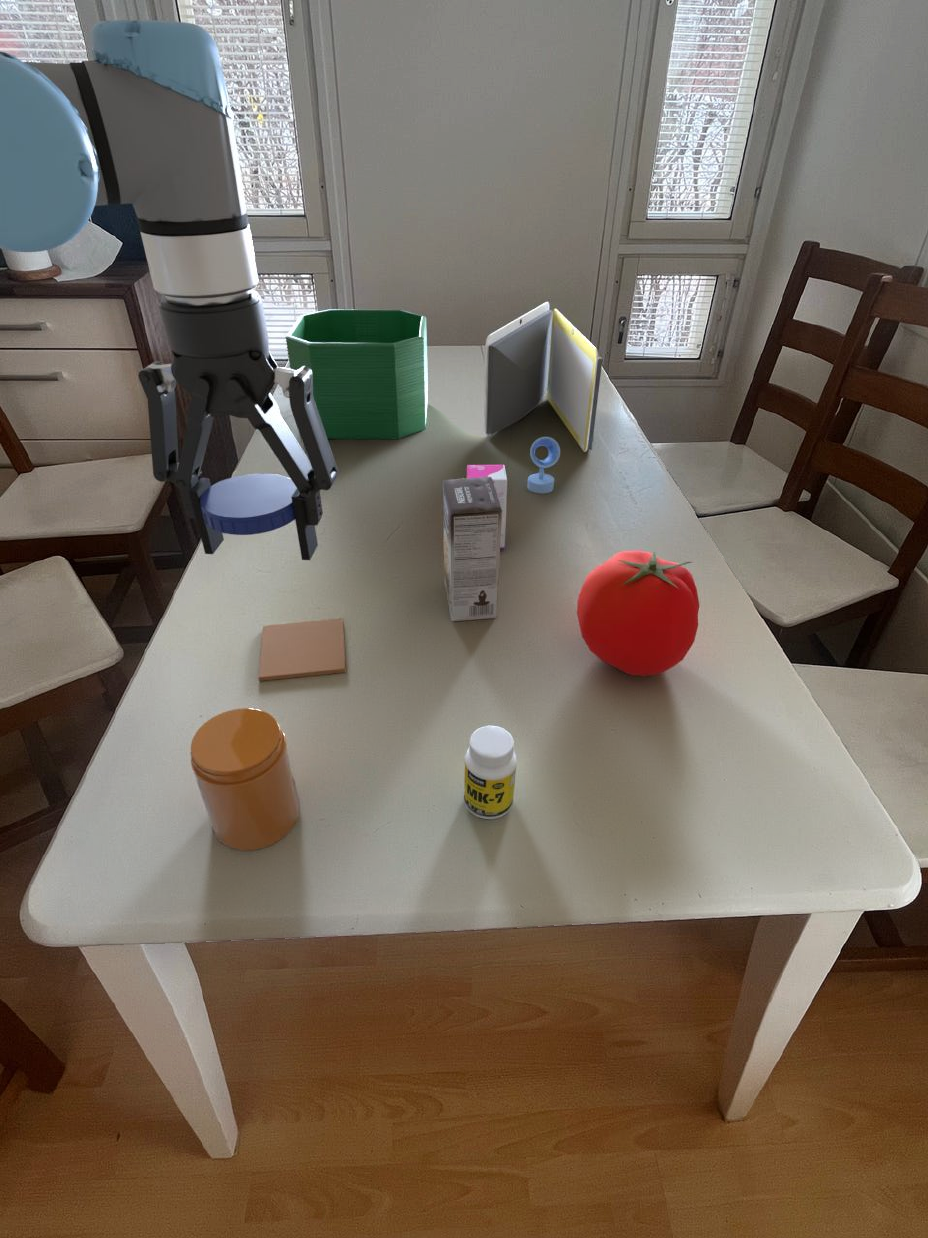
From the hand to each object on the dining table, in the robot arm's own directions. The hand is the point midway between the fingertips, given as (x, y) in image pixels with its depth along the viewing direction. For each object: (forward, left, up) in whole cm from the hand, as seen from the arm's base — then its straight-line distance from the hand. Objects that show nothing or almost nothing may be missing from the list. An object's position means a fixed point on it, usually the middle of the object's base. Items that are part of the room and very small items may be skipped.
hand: (262, 549), depth 66 cm
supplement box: (+28, +31, -20) cm, 46 cm away
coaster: (+1, +9, -20) cm, 22 cm away
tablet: (+46, +77, -20) cm, 92 cm away
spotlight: (+41, +47, -20) cm, 66 cm away
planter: (+13, +86, -20) cm, 89 cm away
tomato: (+40, +2, -20) cm, 45 cm away
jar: (-3, -15, -20) cm, 25 cm away
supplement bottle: (+19, -17, -20) cm, 33 cm away
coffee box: (+23, +16, -20) cm, 34 cm away
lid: (0, 0, +5) cm, 5 cm away
